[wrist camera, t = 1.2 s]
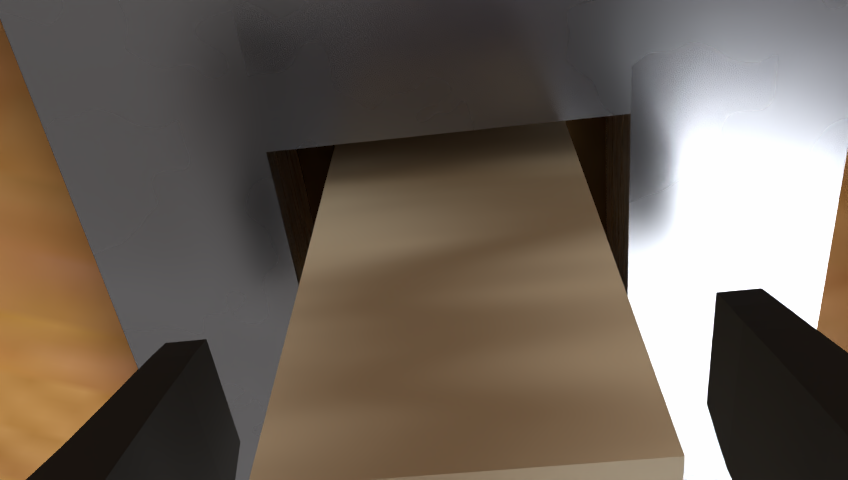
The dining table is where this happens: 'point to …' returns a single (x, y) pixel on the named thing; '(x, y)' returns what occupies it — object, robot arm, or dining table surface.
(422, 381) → the birch peg
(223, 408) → the robot arm
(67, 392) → the dining table surface
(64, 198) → the dining table surface
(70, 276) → the dining table surface
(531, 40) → the hole plate
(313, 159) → the dining table surface
